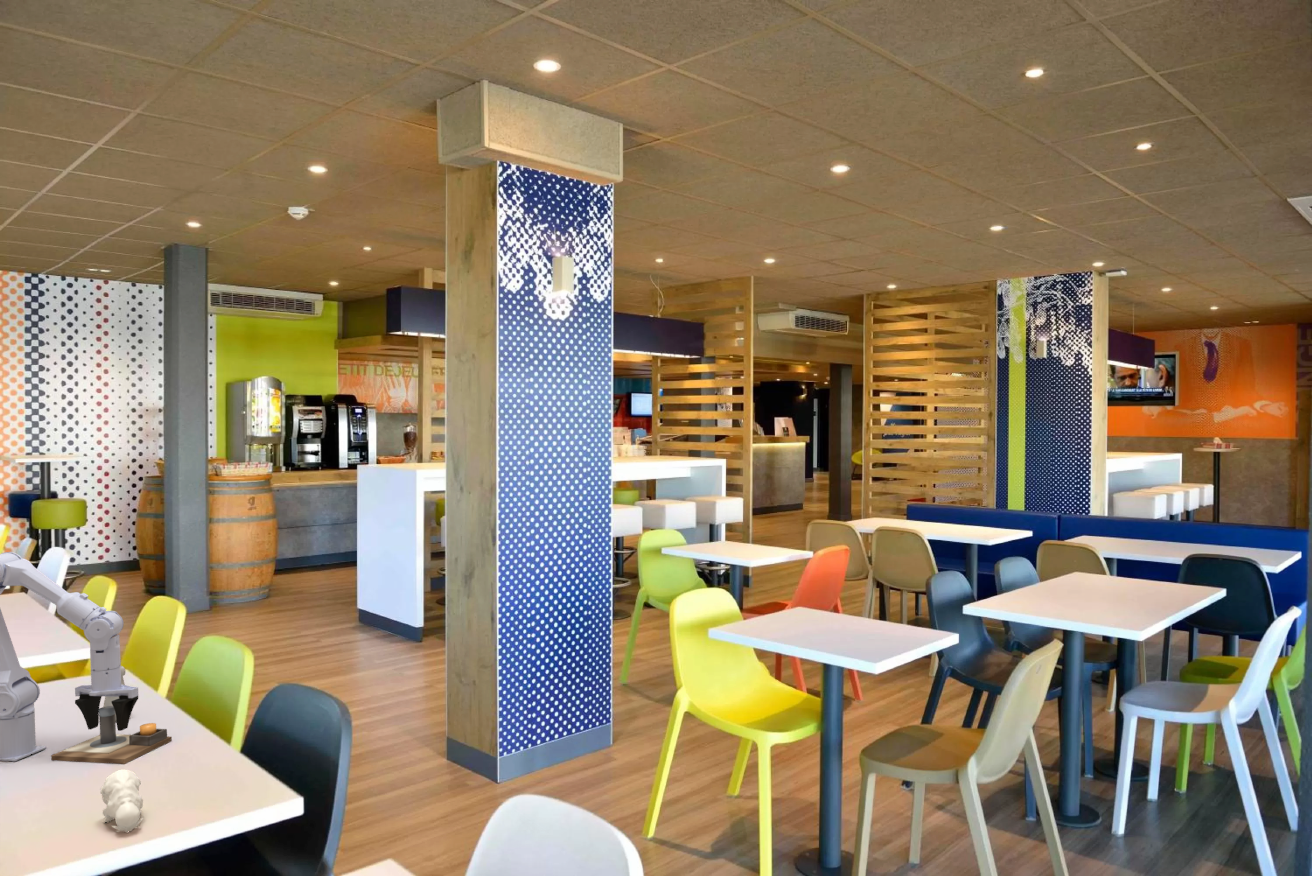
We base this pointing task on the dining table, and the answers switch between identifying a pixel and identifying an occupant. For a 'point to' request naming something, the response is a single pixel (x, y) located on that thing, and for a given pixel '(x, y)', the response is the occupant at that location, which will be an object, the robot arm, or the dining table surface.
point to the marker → (107, 725)
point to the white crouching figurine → (122, 800)
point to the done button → (148, 729)
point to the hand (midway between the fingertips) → (107, 728)
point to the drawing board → (114, 748)
